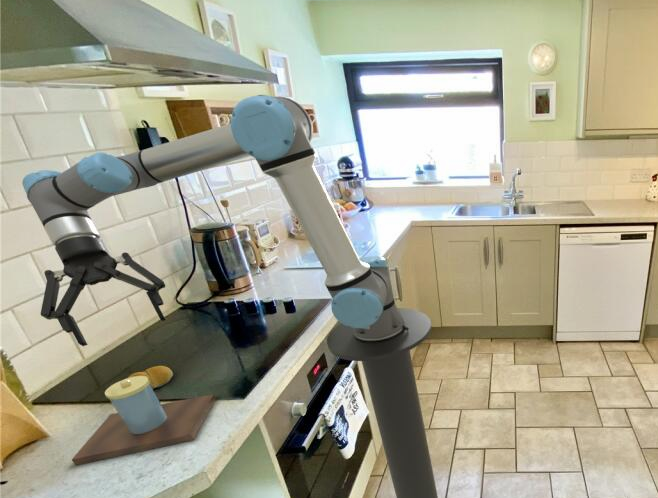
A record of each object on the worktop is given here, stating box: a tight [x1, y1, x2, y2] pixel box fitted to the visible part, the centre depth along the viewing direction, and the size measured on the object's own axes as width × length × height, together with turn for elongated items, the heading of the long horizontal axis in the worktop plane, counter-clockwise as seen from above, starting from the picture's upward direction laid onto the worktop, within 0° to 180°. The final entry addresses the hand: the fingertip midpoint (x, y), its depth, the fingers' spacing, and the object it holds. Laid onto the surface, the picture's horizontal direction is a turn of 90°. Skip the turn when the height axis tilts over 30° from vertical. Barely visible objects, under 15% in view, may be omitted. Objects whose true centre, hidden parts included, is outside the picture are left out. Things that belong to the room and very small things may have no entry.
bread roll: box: [127, 365, 174, 390], centre depth 103 cm, size 8×9×4 cm
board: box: [71, 393, 217, 466], centre depth 88 cm, size 20×14×2 cm
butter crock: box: [104, 376, 167, 434], centre depth 85 cm, size 7×7×11 cm
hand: (124, 331), depth 90 cm, fingers open, 13 cm apart
